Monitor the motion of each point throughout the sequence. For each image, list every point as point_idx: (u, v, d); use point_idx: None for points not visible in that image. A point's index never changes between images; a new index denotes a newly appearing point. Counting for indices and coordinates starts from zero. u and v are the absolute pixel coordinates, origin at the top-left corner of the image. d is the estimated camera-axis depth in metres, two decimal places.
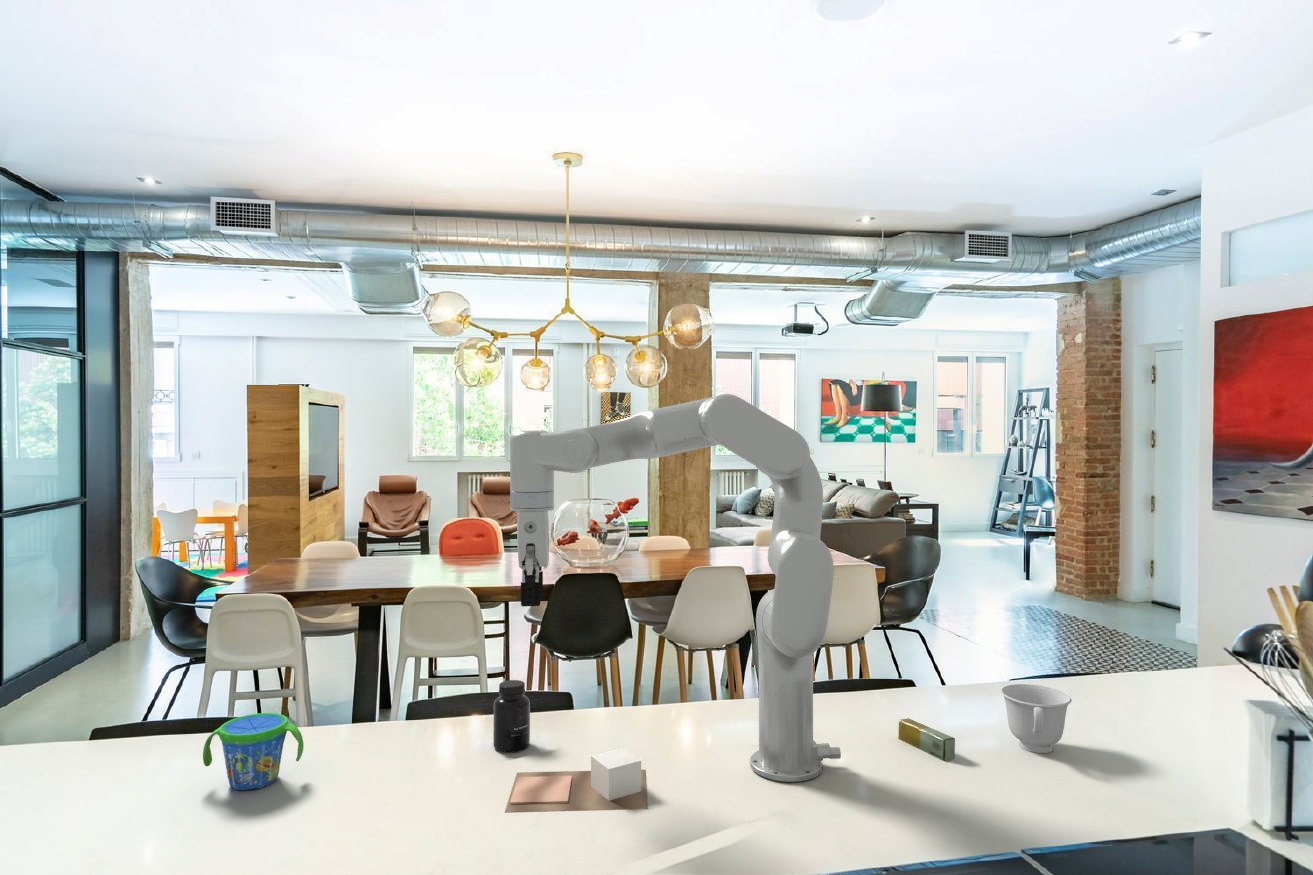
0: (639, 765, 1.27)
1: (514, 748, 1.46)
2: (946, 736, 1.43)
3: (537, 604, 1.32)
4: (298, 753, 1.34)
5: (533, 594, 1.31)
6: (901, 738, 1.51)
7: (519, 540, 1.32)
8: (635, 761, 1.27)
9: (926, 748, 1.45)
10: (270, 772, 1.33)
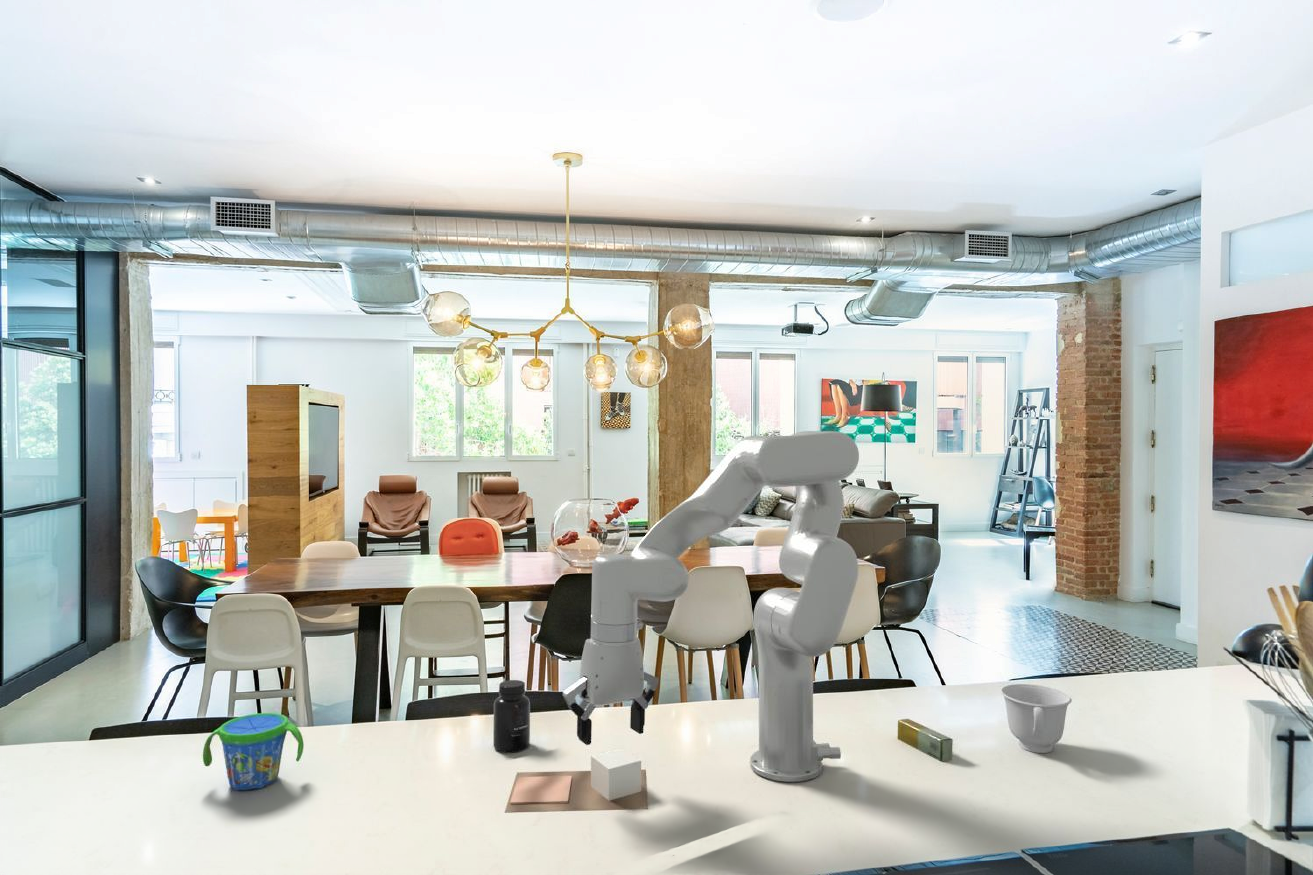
0: (639, 765, 1.27)
1: (514, 748, 1.46)
2: (944, 737, 1.43)
3: None
4: (298, 753, 1.34)
5: None
6: (900, 738, 1.51)
7: (643, 667, 1.29)
8: (635, 761, 1.27)
9: (924, 748, 1.45)
10: (270, 772, 1.33)
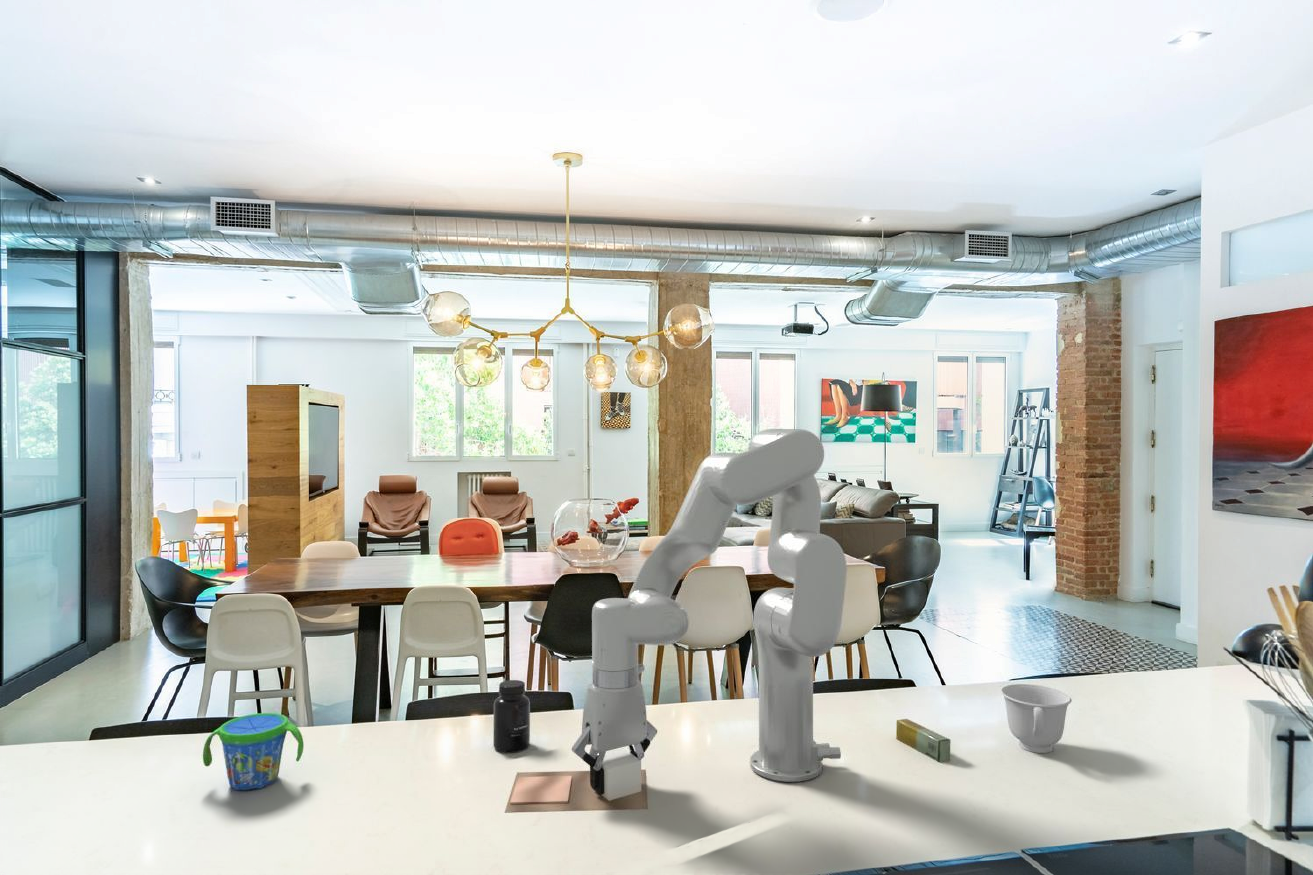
0: (639, 765, 1.27)
1: (514, 748, 1.46)
2: (942, 737, 1.43)
3: None
4: (298, 753, 1.34)
5: None
6: (899, 738, 1.51)
7: (645, 711, 1.29)
8: (635, 761, 1.27)
9: (922, 749, 1.45)
10: (270, 772, 1.33)
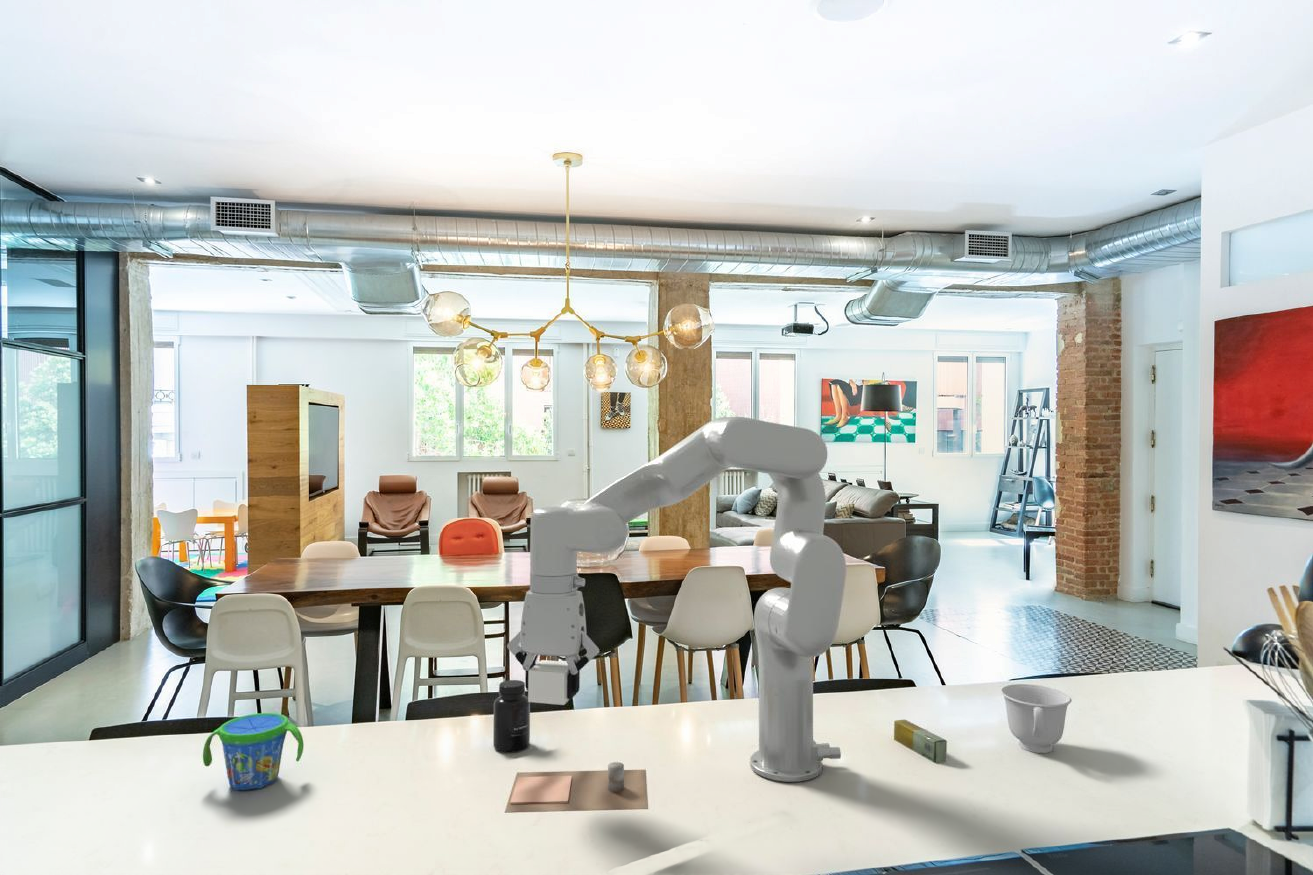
0: (562, 677, 1.24)
1: (514, 748, 1.46)
2: (938, 738, 1.43)
3: (576, 692, 1.28)
4: (298, 753, 1.34)
5: (579, 682, 1.27)
6: (896, 739, 1.51)
7: (576, 626, 1.25)
8: (559, 672, 1.24)
9: (919, 749, 1.45)
10: (270, 772, 1.33)
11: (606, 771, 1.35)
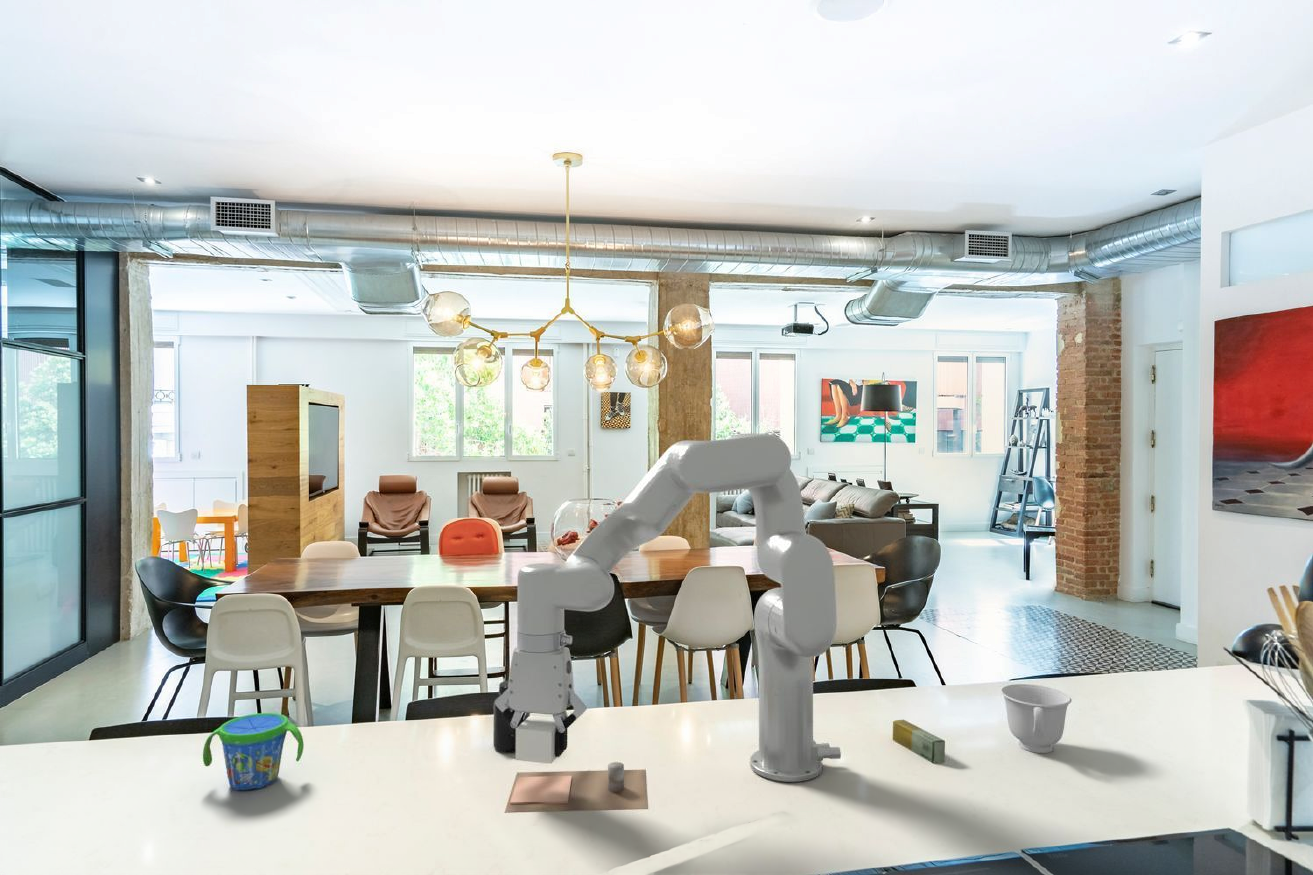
0: (549, 736, 1.24)
1: (514, 748, 1.46)
2: (936, 738, 1.42)
3: (564, 749, 1.28)
4: (298, 753, 1.34)
5: (566, 740, 1.27)
6: (895, 739, 1.51)
7: (564, 684, 1.25)
8: (546, 731, 1.24)
9: (917, 750, 1.45)
10: (270, 772, 1.33)
11: (606, 771, 1.35)
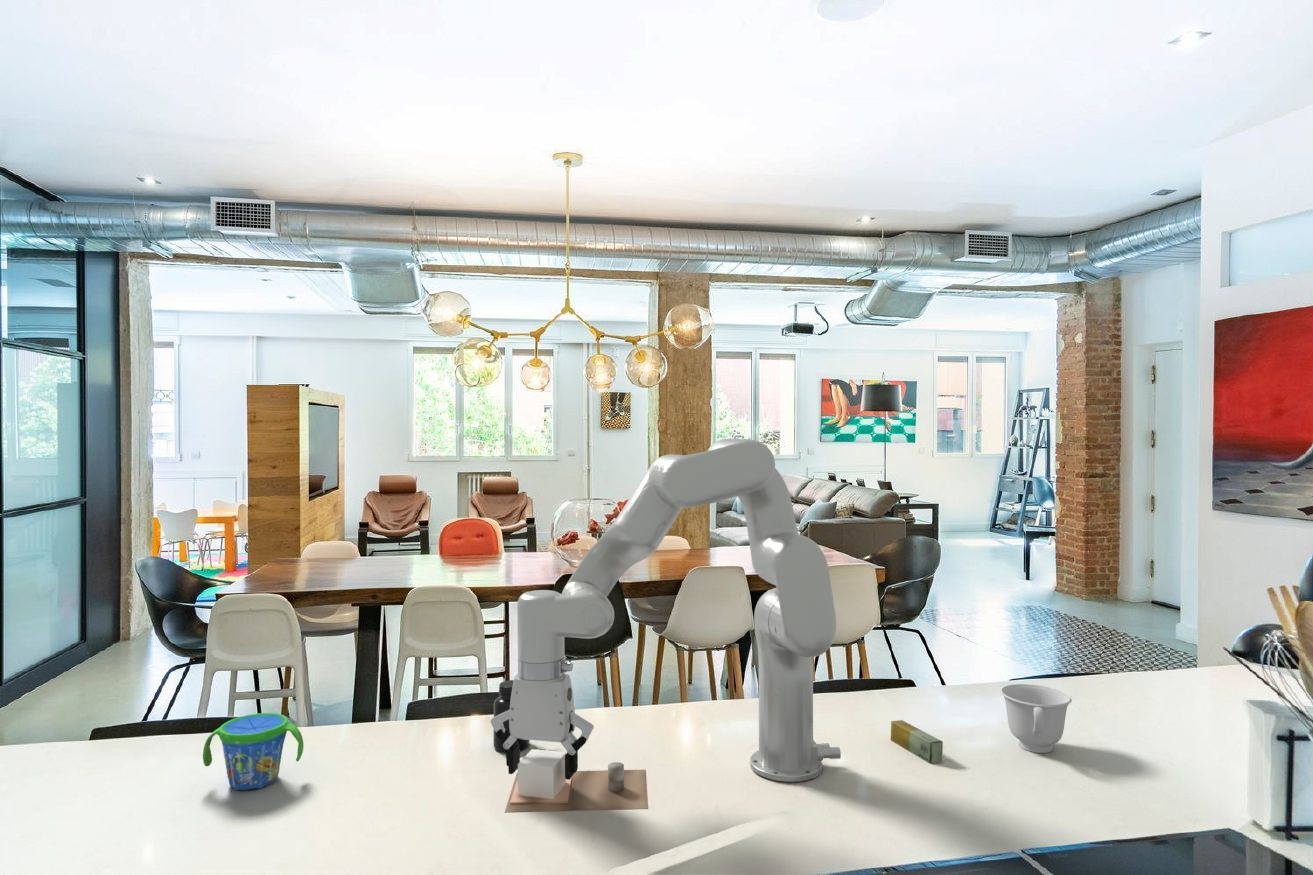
0: (551, 771, 1.24)
1: None
2: (934, 739, 1.42)
3: None
4: (298, 753, 1.34)
5: (577, 762, 1.27)
6: (893, 739, 1.51)
7: (564, 711, 1.25)
8: (548, 766, 1.24)
9: (915, 750, 1.44)
10: (270, 772, 1.33)
11: (606, 771, 1.35)
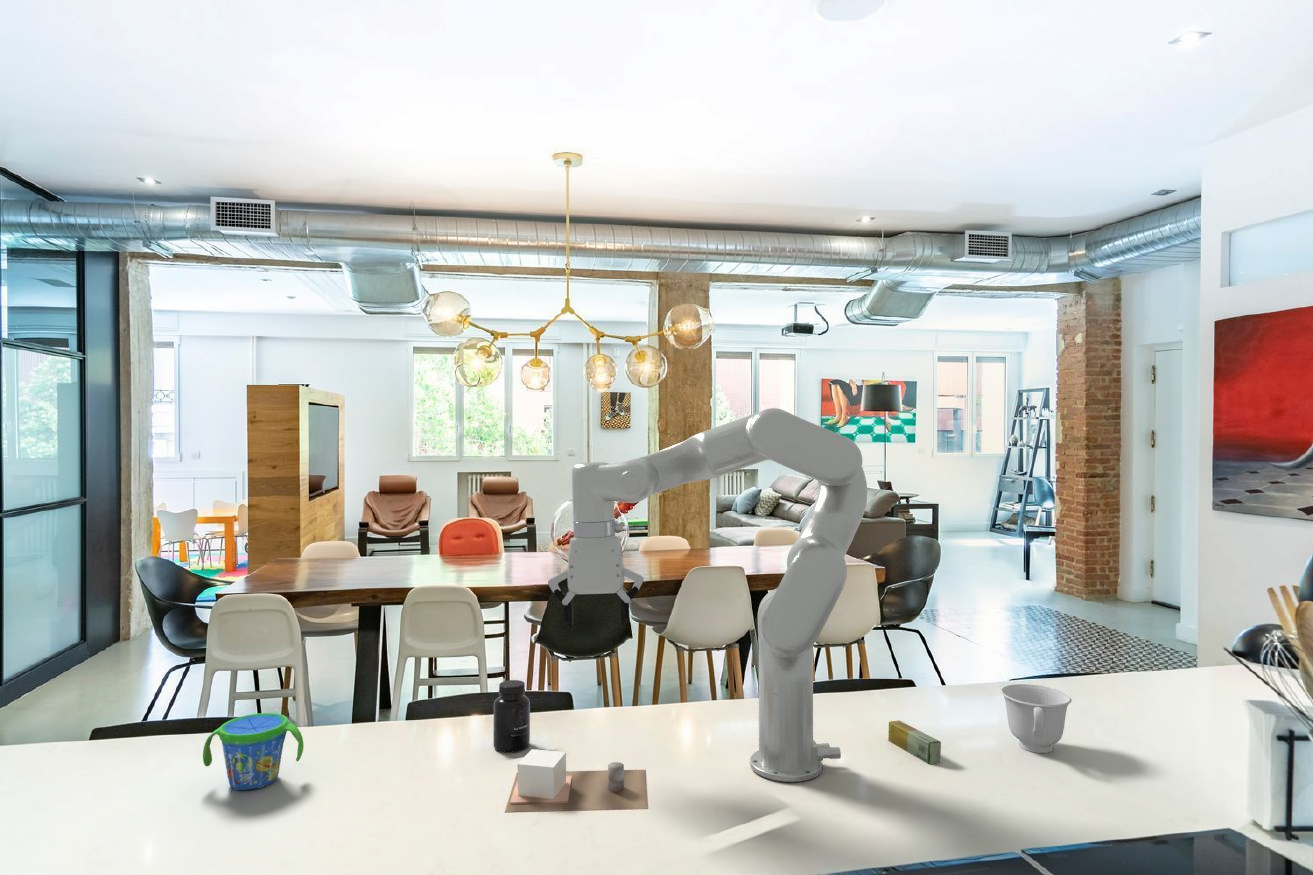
0: (551, 771, 1.24)
1: (514, 748, 1.46)
2: (932, 739, 1.42)
3: None
4: (298, 753, 1.34)
5: None
6: (891, 740, 1.50)
7: (620, 564, 1.41)
8: (548, 766, 1.24)
9: (913, 751, 1.44)
10: (270, 772, 1.33)
11: (606, 771, 1.35)
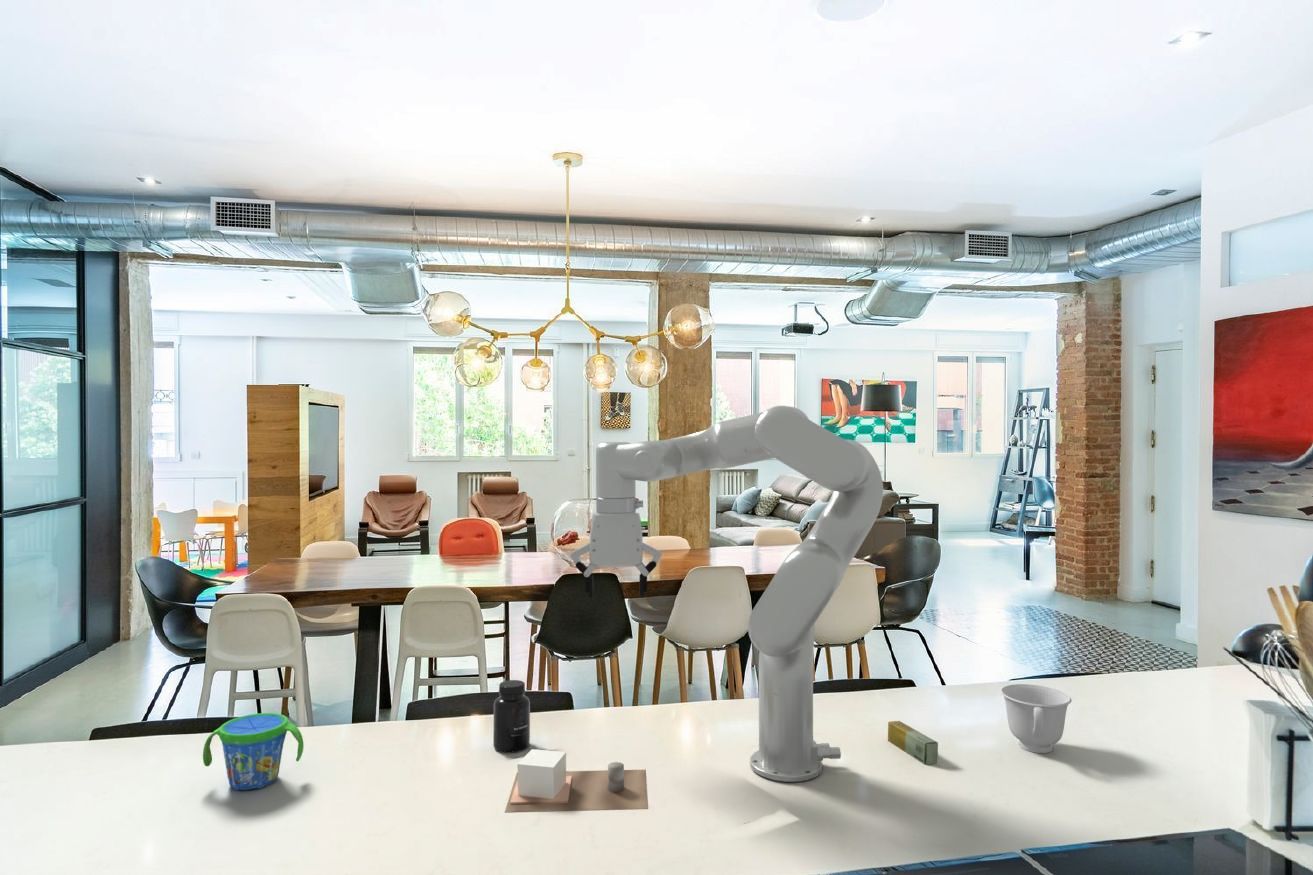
0: (551, 771, 1.24)
1: (514, 748, 1.46)
2: (929, 740, 1.42)
3: None
4: (298, 753, 1.34)
5: None
6: (890, 740, 1.50)
7: (640, 539, 1.48)
8: (548, 766, 1.24)
9: (910, 751, 1.44)
10: (270, 772, 1.33)
11: (606, 771, 1.35)
